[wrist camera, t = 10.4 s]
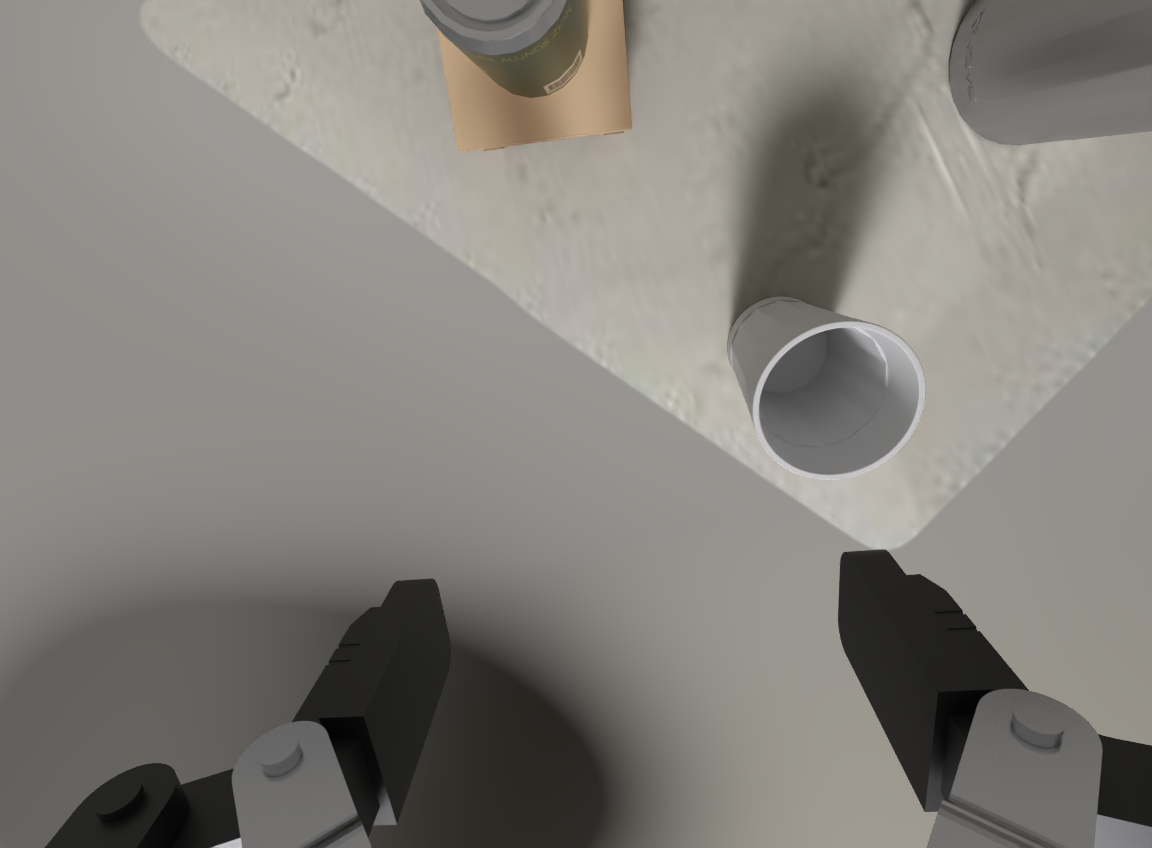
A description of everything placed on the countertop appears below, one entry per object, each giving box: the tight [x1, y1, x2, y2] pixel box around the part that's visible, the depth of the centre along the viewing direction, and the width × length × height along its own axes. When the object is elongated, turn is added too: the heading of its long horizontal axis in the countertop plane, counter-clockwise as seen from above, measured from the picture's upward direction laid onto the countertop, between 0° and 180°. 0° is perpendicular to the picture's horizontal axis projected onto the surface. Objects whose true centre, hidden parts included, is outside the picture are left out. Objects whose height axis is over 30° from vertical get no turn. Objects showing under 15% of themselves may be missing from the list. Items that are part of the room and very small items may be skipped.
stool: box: [437, 0, 632, 152], centre depth 33 cm, size 9×9×6 cm
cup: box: [727, 296, 926, 480], centre depth 35 cm, size 8×8×12 cm
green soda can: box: [420, 0, 588, 98], centre depth 24 cm, size 5×5×12 cm
